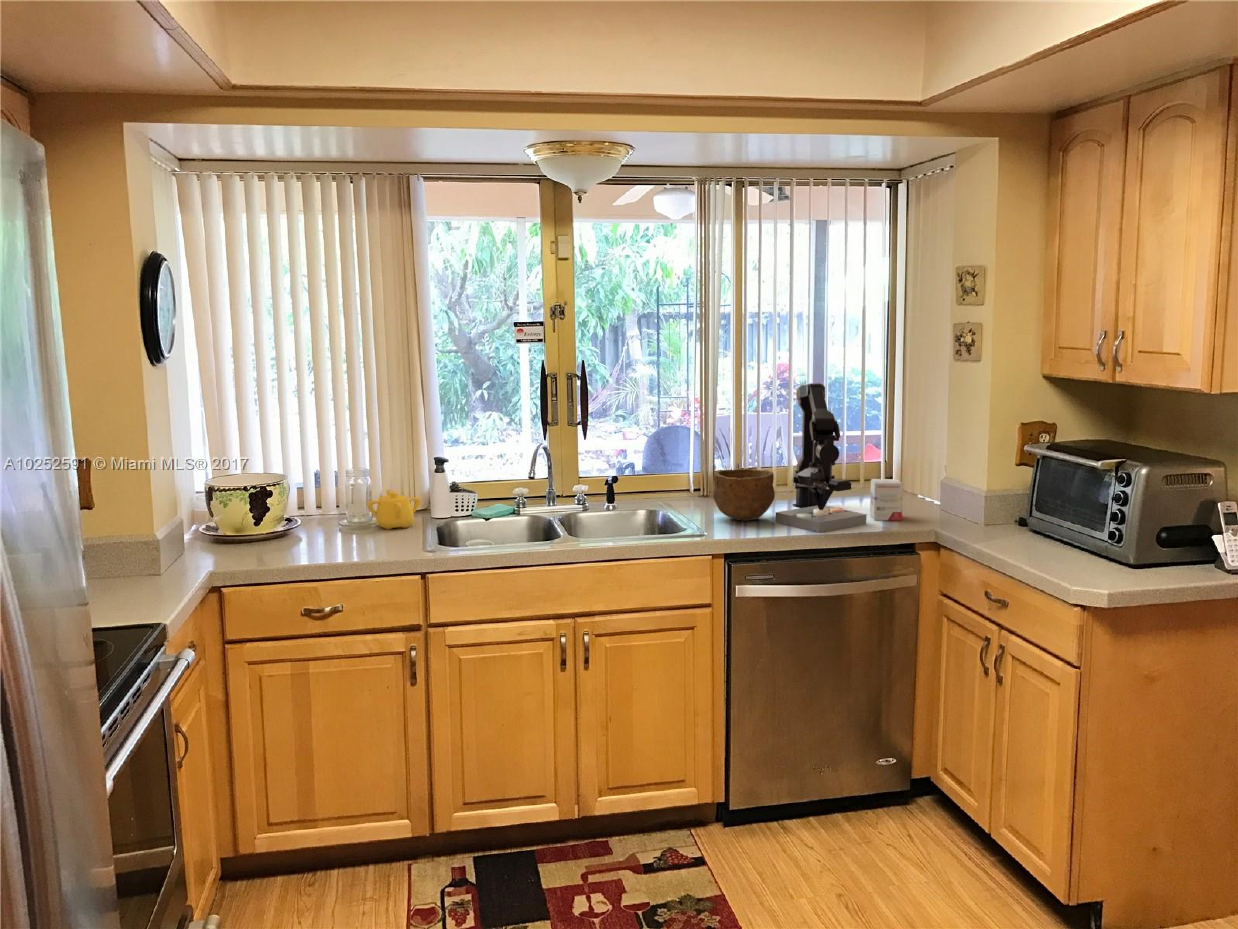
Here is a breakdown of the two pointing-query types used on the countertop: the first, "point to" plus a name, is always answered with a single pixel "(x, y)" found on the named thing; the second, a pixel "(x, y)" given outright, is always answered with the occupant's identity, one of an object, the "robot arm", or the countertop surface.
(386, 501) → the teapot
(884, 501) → the ink box
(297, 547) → the countertop surface
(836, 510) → the orange button
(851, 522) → the panel
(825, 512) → the cream button
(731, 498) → the bowl
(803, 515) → the sage button
